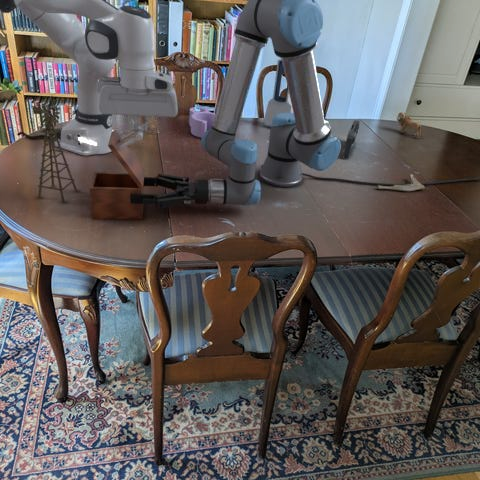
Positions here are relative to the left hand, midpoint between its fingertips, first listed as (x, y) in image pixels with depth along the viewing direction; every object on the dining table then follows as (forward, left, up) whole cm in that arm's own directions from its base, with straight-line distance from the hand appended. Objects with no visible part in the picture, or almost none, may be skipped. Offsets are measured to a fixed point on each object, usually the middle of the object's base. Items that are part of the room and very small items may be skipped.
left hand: (140, 130), depth 126 cm
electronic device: (+21, +95, -25) cm, 100 cm away
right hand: (-3, -1, -18) cm, 18 cm away
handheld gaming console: (+54, +83, -25) cm, 103 cm away
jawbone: (+74, +57, -25) cm, 97 cm away
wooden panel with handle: (-4, -2, -9) cm, 10 cm away
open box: (-6, -2, -25) cm, 26 cm away
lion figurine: (+79, +119, -25) cm, 145 cm away
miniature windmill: (-27, -2, -25) cm, 37 cm away
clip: (-7, +73, -25) cm, 78 cm away
